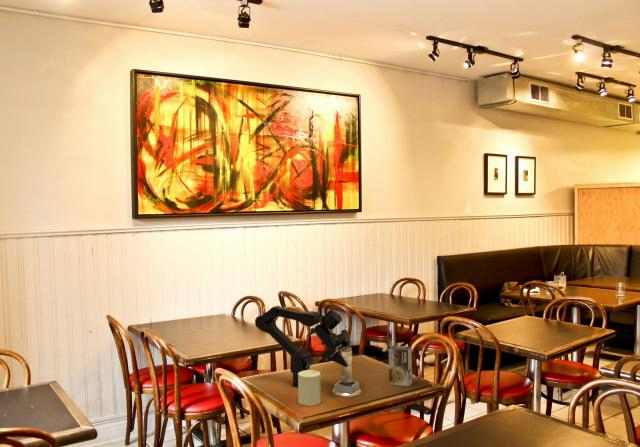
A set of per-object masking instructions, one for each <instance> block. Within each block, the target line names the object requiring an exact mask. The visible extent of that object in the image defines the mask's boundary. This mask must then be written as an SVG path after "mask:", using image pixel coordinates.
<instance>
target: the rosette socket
mask: <svg viewBox="0 0 640 447" xmlns="http://www.w3.org/2000/svg"><path fill="white" fill-rule="evenodd" d="M333 386H334V387H333V389H332V394H333V395H335V396H337V397H343V398H353V397H357V396H359V395H361V394H362V390H361V388H360V381H357V380H352V381H351V382H348V383H345V382H342V381H341V379H340V380H339V381H337V382H336V383H335V384H333Z"/></svg>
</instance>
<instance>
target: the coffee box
mask: <svg viewBox="0 0 640 447" xmlns="http://www.w3.org/2000/svg"><path fill="white" fill-rule="evenodd" d="M412 350H413V348H412V346H405V345H392V346H391V345H390V347H389V348H388V378H389V380H388V384H389V385H391V386H392V385H393V386H400V387H402V386H403V387H408V388H409V387H410V386H411V385H412V384H413V355H412V354H413V351H412Z"/></svg>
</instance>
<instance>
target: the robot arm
mask: <svg viewBox="0 0 640 447" xmlns="http://www.w3.org/2000/svg"><path fill="white" fill-rule="evenodd" d="M278 317H279V318H280V317H281V318H284V319H288V320H291V321H297V322H298V323H300V324H301V325H303V326H306V327H308V328H310V333H309V336H313V335H315V336H317V338H318V339H319V340H320V341H321V342H320V344H321V346H325V347H326V350H325V351H323V353H322V354H321V358H322V360H323V361H324V362H325V361H327V360H329V361H332V362H333V363H337V364H338V365H340V366H341V365H342V366H344V367H347V366H348V365H347V363H346V361H345V360H344V358H343V357H342V355H341V348H342V347H350V345H351V343H352V341H351V340H350V338H351V337H350V332H349V331H348V330H347V329H346V328H344V329H343V330H341V331H340V333H338V334H337V333H336V332H332V331H331V330H334V329H335V328H336V327H337V326H338V325H339V324H340V323H341V322H342V321H343V318H342V316H341V315H340V314H339V313H338V312H336V311H334V310H333V309H329V310H328V311H327V313H326V314H325V315H324V314H320V313H319V312H318V311H315V310H314V311H313V310H312V311H310V310H309V311H306V310H304V311H301V310H296V309H292V308H288V307H287V308H286V307H284V306H280V305H274V306H272V307H271V308H270V309H269V310H267V311H266V312H265V313H263V314H261V315H259V316H256V318H254V325H255V327H256V328H257V329H258V330H260V331H261V332H263V333H265V334H268V335H269V336H271V338H272V339H273V340H274V341H276V343H277V344H278V345H279V346H280V347H282V349H283V350H284V351H285V352H287V354H288V355H289V356H290V358H291V361H292V363H293V364H292V365H291V366H290V368H289V369H290V372H291V373H292V385H291V387H296V388H297V387H298V373H299V372H301V371H305V370H310V369H311V366H312V365H313V363H314V358H313V355H312V353H311V352H310V351H309V350H308V349H307V348H306V347H303V348H299V347H298V346H297V345H296V344H295V343H294V342H293V341H292V340H291V339H290V338H289V337H288V336H287V335H286V334H285V333H284V332H283V331H282V330H281V329H280V327H278V325H277V323H276V319H277V318H278ZM313 326H314V327H313ZM352 364H353V361H352Z"/></svg>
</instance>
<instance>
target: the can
mask: <svg viewBox="0 0 640 447" xmlns="http://www.w3.org/2000/svg"><path fill="white" fill-rule="evenodd" d="M297 398H298V400H297V402H298V404H299V405H301V406H305V407H306V406H307V407H311V406H316V405H319V404H321V402H322V399H321V372H320V371H318V370H313V369H307V370H305V371H301V372H299V373H298V397H297Z"/></svg>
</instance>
